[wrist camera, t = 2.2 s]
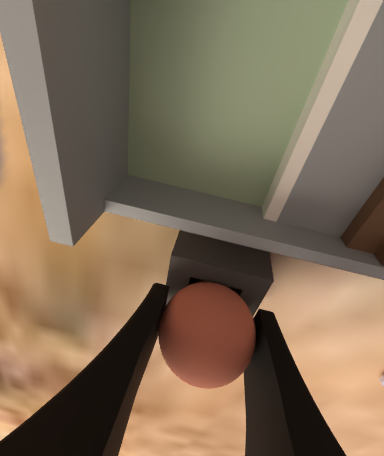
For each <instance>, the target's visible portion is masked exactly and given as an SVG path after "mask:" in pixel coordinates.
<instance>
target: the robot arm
mask: <svg viewBox="0 0 384 456" xmlns="http://www.w3.org/2000/svg"><path fill="white" fill-rule="evenodd" d="M168 292H169V286H167V285H163V284H159V283H155V284H153V286H152V288H151V289H150V291H149V293H148V294H147V296H146V297H145V299H144V300H143V302H142V303H141V305H140V306H139V307H138V309H137V310H136V311H135V313H134V314H133V315H132V316H131V318H130V319H129V320H128V321H127V323H126V324H125V325H124V326H123V328H122V329H121V330H120V331H119V332H118V333H117V334H116V336H115V337H114V338H113V339H112V340H111V341H110V342H109V344H108V345H107V346H106V347H105V348H104V349H103V350H102V351H101V352H100V353H99V354H98V355H97V356H96V357H95V358H94V359H93V360H92V361H91V362H90V363H89V364H88V365H87V366H86V367H85V368H84V369H83V370H82V371H81V372H80V373H79V374H78V375H77V376H76V377H75V378H74V379H73V380H72V381H71V382H70V383H69V384H68V385H66V386H65V387H64V388H63V389H62V390H61V391H60V392H59V393H58V394H56V395H55V396H54V397H53V398H52V399H51V400H50V401H48V402H47V403H46V404H45V405H44V406H43V407H41V408H40V409H39V410H38V411H37V412H36V413H34V414H33V415H32V416H31V417H30V418H29V419H27V420H26V421H25V422H24V423H22V424H21V425H20V426H19V427H18V428H16V429H15V430H14V431H12V432H11V433H10V434H9V435H7V436H6V437H5V438H4V439H2V440H1V441H0V456H118V454H119V450H120V447H121V444H122V440H123V437H124V433H125V430H126V426H127V423H128V420H129V416H130V413H131V410H132V406H133V403H134V399H135V396H136V393H137V391H138V388H139V385H140V382H141V380H142V377H143V374H144V372H145V369H146V366H147V364H148V361H149V359H150V356H151V353H152V351H153V348H154V345H155V343H156V340H157V337H158V335H159V323H160V320H161V316H162V313H163V310H164V309H165V307H166V303H167V297H168ZM253 320H254V323H255V329H256V344H255V350H254V353H253V356H252V359H251V361H250V363H249V365H248V366H247V368H246V369H245V371H244V386H245V406H246V448H245V456H346V454H345V453H344V451H343V450H342V448H341V446H340V445H339V443H338V441H337V440H336V438H335V437H334V435H333V433H332V432H331V430H330V428H329V426H328V425H327V423H326V421H325V420H324V418H323V416H322V414H321V413H320V411H319V409H318V407H317V405H316V403H315V402H314V400H313V398H312V396H311V394H310V392H309V390H308V388H307V386H306V384H305V382H304V380H303V378H302V376H301V374H300V372H299V370H298V368H297V366H296V364H295V362H294V359H293V357H292V355H291V353H290V351H289V348H288V346H287V344H286V342H285V339H284V337H283V334H282V332H281V330H280V327H279V325H278V322H277V320H276V317H275V315H274V313H273V312H270V311H266V310H262V309H259V310H258V312H257V313H256V315H255V317H254V318H253ZM380 381H381V384H382V385H383V386H384V375H383V376H381V377H380Z"/></svg>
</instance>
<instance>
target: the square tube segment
mask: <svg viewBox="0 0 384 456" xmlns="http://www.w3.org/2000/svg"><path fill="white" fill-rule="evenodd" d="M190 277H193V278H197V279H201V280H205V281H209V282H213V283H218V284H221V285H225V286H229V287H230V289H231V290H233V291H234V292H235V293H237V294H238V295H239V296H240V297H241V298H242V299H243V300H244V302H245V303H246V305H247V306H248V308H249V310H250V312H251V314H252V316H253V315H254V314H255V312H256V310H257V309H258V307H259V305H260V303H261V302H262V300H263V298H264V297H265V295H266V293H267V291H268V290H269V288H270V286H271V285H272V283H273V281H274V279H273V272H272V266H271V259H270V253H269V252H268V251H264V250H260V249H256V248H252V247H248V246H243V245H239V244H235V243H231V242H227V241H223V240H219V239H215V238H211V237H207V236H203V235H199V234H194V233H190V232H186V231H182V230H180V231H179V234H178V237H177V240H176V243H175V246H174V249H173V251H172V254H171V259H170V265H169V271H168V277H167V282H166V285H167V286H169V292H168V297H167V303H168V302H169V301H170V299H171V298H172V297H173V296H174V295H175V294H176V293H177V292H178V291H180V290H181V289H183V288H185V287H186V286H189V285H191V284H195V283H199V282H200V281H196V280H192V279H190ZM167 303H166V305H167Z"/></svg>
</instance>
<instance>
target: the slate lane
mask: <svg viewBox="0 0 384 456" xmlns="http://www.w3.org/2000/svg"><path fill="white" fill-rule="evenodd" d="M0 33H1V37H2V41H3V45H4V50H5V54H6V58H7V62H8V66H9V70H10V75H11V79H12V83H13V87H14V91H15V96H16V100H17V104H18V108H19V112H20V116H21V121H22V125H23V129H24V133H25V137H26V142H27V146H28V150H29V154H30V158H31V162H32V167H33V171H34V175H35V179H36V183H37V188H38V192H39V196H40V200H41V204H42V208H43V213H44V217H45V221H46V225H47V229H48V233H49V238H50V241H53V242H57V243H61V244H65V245H69V246H74V245H75V244H76V243H77V242H78V241H79V239H80V238H81V237H82V236H83V235H84V234H85V233H86V232H87V230H88V229H89V228H90V227H91V226H92V225H93V224H94V223H95V221H96V220H97V219H98V218H99V217H100V216H101V215H102V213H103V212H104V211H105V212H109V213H113V214H117V215H121V216H125V217H129V218H133V219H137V220H141V221H146V222H150V223H154V224H158V225H162V226H166V227H170V228H174V229H178V230H182V231H186V232H190V233H194V234H199V235H203V236H207V237H211V238H215V239H219V240H223V241H227V242H231V243H235V244H239V245H243V246H248V247H252V248H256V249H260V250H264V251H268V252H272V253H276V254H280V255H284V256H288V257H292V258H296V259H301V260H305V261H309V262H313V263H317V264H321V265H325V266H329V267H333V268H337V269H341V270H345V271H349V272H354V273H358V274H362V275H366V276H370V277H374V278H378V279H382V280H384V266H381V264H380V263H379V261H378V260H377V259H376V257H375V256H374V254H372V253H368V252H364V251H359V250H355V249H351V248H347V247H346V246H345V245H344V243H343V241H342V239H341V238H340V237H341V236H342V234H343V233H344V231H345V230H346V229H347V227H348V226H349V224H350V223H351V222H352V220H353V219H354V218H355V216H356V215H357V213H358V212H359V211H360V209H361V208H362V206H363V205H364V204H365V202H366V201H367V199H368V198H369V197H370V195H371V194H372V193H373V191H374V190H375V188H376V187H377V186H378V184H379V183H380V181H381V180H382V179H383V177H384V0H0Z"/></svg>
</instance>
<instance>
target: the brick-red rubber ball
mask: <svg viewBox="0 0 384 456" xmlns="http://www.w3.org/2000/svg"><path fill="white" fill-rule="evenodd" d="M159 344H160V349H161V352H162V355H163V357H164V359H165V361H166V363H167V365H168V366H169V368H170V369H171V370H172V372H173V373H174V374H175V375H176V376H178V377H179V378H180V379H181V380H183V381H184V382H186V383H188V384H190V385H192V386H195V387H199V388H217V387H222V386H224V385H227V384H229V383H231V382H232V381H234V380H235V379H237V378H238V377H239V376H240V375H241V374H242V373H243V372H244V371H245V369H246V368H247V366H248V365H249V363H250V361H251V359H252V356H253V353H254V350H255V344H256V329H255V323H254V320H253V316H252V314H251V312H250V310H249V308H248V306H247V305H246V303H245V302H244V300H243V299H242V298H241V297H240V296H239V295H238V294H237V293H235V292H234V291H233V290H231V289H230V288H228V287H226V286H224V285H221V284H218V283H213V282H199V283H195V284H191V285H189V286H186V287H185V288H183V289H181V290H180V291H178V292H177V293H176V294H175V295H174V296H173V297H172V298H171V299H170V301H169V302H168V303H167V305H166V307H165V309H164V310H163V313H162V316H161V320H160V323H159Z"/></svg>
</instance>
